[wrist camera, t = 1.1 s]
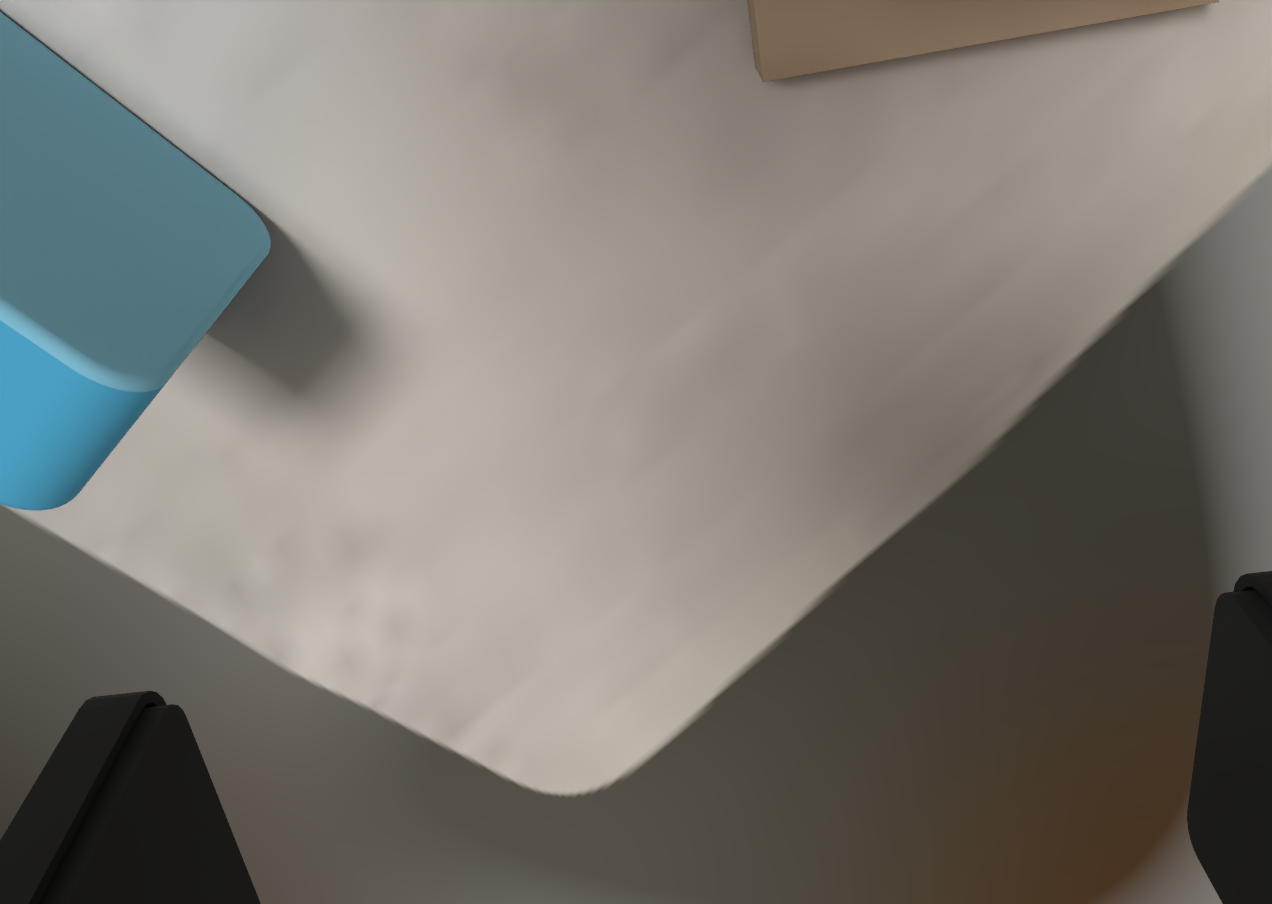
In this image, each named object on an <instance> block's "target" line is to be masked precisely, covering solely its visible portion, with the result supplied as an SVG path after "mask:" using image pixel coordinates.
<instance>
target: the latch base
mask: <svg viewBox="0 0 1272 904" xmlns="http://www.w3.org/2000/svg"><path fill="white" fill-rule="evenodd" d="M1216 2H1219V0H748V7H749V16H750V24H751V33H752V41H753V50H754V58H755V67H756V69H757V71H758V73H759V75H760V77H761V79H762V81H763V82H766V81H772V80H777V79H783V78H789V77H794V76H800V75H806V74H812V73H817V72H823V71H829V70H834V69H840V68H846V67H851V66H857V65H863V64H868V63H874V62H880V61H886V60H891V59H897V58H903V57H908V56H914V55H920V54H925V53H931V52H937V51H942V50H948V49H954V48H960V47H965V46H971V45H977V44H982V43H988V42H994V41H999V40H1005V39H1011V38H1016V37H1022V36H1028V35H1034V34H1039V33H1045V32H1051V31H1056V30H1062V29H1068V28H1073V27H1079V26H1085V25H1090V24H1096V23H1102V22H1108V21H1113V20H1119V19H1125V18H1130V17H1136V16H1142V15H1147V14H1153V13H1159V12H1165V11H1170V10H1176V9H1182V8H1187V7H1193V6H1199V5H1204V4H1210V3H1216Z"/></svg>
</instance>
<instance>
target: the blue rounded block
mask: <svg viewBox="0 0 1272 904" xmlns="http://www.w3.org/2000/svg"><path fill="white" fill-rule="evenodd" d="M270 247H271V239H270V235H269V233H268V230H267V228H266V226H265V224H264V223H263V221H262V220H261V219H260V217H259V216H258V215H257V214H256V212H255V211H254V210H253V209H252V208H251V207H250V206H249V205H248V204H247V203H246V202H245V201H243V200H242V199H241V198H240V197H239V196H237V195H236V194H235V193H234V192H232V191H231V190H230V189H228V188H227V187H226V186H224V185H223V184H222V183H221V182H219V181H218V180H217V179H215V178H214V177H213V176H212V175H210V174H209V173H208V172H206V171H205V170H204V169H203V168H201V167H200V166H199V165H197V164H196V163H195V162H193V161H192V160H191V159H190V158H188V157H187V156H186V155H184V154H183V153H182V152H181V151H179V150H178V149H177V148H175V147H174V146H173V145H172V144H170V143H169V142H168V141H166V140H165V139H164V138H162V137H161V136H160V135H159V134H157V133H156V132H155V131H153V130H152V129H151V128H150V127H148V126H147V125H146V124H144V123H143V122H142V121H140V120H139V119H138V118H137V117H135V116H134V115H133V114H131V113H130V112H129V111H128V110H126V109H125V108H124V107H122V106H121V105H120V104H119V103H117V102H116V101H115V100H113V99H112V98H111V97H109V96H108V95H107V94H106V93H104V92H103V91H102V90H100V89H99V88H98V87H97V86H95V85H94V84H93V83H91V82H90V81H89V80H88V79H86V78H85V77H84V76H82V75H81V74H80V73H78V72H77V71H76V70H75V69H73V68H72V67H71V66H69V65H68V64H67V63H66V62H64V61H63V60H62V59H60V58H59V57H58V56H57V55H55V54H54V53H53V52H51V51H50V50H49V49H47V48H46V47H45V46H44V45H42V44H41V43H40V42H38V41H37V40H36V39H35V38H33V37H32V36H31V35H29V34H28V33H27V32H26V31H24V30H23V29H22V28H20V27H19V26H18V25H16V24H15V23H14V22H13V21H11V20H10V19H9V18H7V17H6V16H5V15H4V14H2V13H1V12H0V504H3V505H6V506H9V507H13V508H18V509H24V510H47V509H52V508H56V507H59V506H62V505H64V504H66V503H68V502H69V501H71V500H72V499H74V497H75V496H76V495H77V494H78V493H79V492H80V491H81V490H82V488H83V487H84V486H85V485H86V483H87V482H88V481H89V480H90V478H91V477H92V476H93V475H94V473H95V472H96V471H97V469H98V468H99V467H100V466H101V464H102V463H103V462H104V461H105V459H106V458H107V457H108V456H109V454H110V453H111V452H112V451H113V449H114V448H115V447H116V446H117V444H118V443H119V442H120V441H121V439H122V438H123V437H124V435H125V434H126V433H127V432H128V430H129V429H130V428H131V427H132V425H133V424H134V423H135V422H136V420H137V419H138V418H139V417H140V415H141V414H142V413H143V412H144V410H145V409H146V408H147V406H148V405H149V404H150V403H151V401H152V400H153V399H154V398H155V396H156V395H157V394H158V393H159V391H160V390H161V389H162V388H163V386H164V385H165V384H166V383H167V381H168V380H169V379H170V378H171V376H172V375H173V374H174V372H175V371H176V370H177V369H178V367H179V366H180V365H181V364H182V362H183V361H184V360H185V359H186V357H187V356H188V355H189V354H190V352H191V351H192V350H193V348H194V347H195V346H196V345H197V343H198V342H199V341H200V340H201V338H202V337H203V336H204V335H205V333H206V332H207V331H208V330H209V328H210V327H211V326H212V324H213V323H214V322H215V321H216V319H217V318H218V317H219V316H220V314H221V313H222V312H223V311H224V309H225V308H226V307H227V306H228V304H229V303H230V302H231V300H232V299H233V298H234V297H235V295H236V294H237V293H238V292H239V290H240V289H241V288H242V287H243V285H244V284H245V283H246V282H247V280H248V279H249V278H250V277H251V275H252V274H253V273H254V271H255V270H256V269H257V268H258V266H259V265H260V264H261V263H262V261H263V260H264V259H265V258H266V256H267V255H268V253H269V251H270Z"/></svg>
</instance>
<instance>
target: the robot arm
mask: <svg viewBox="0 0 1272 904" xmlns="http://www.w3.org/2000/svg"><path fill="white" fill-rule="evenodd" d="M1187 821H1188V830H1189V834H1190V839H1191V842H1192V845H1193V848H1194V851H1195V853H1196V855H1197V857H1198V859H1199V861H1200V863H1201V865H1202V866H1203V868H1204V870H1205V872H1206V874H1207V876H1208V878H1209V879H1210V881H1211V883H1212V885H1213V887H1214V888H1215V890H1216V892H1217V894H1218V896H1219V898H1220V899H1221V901H1222V903H1223V904H1272V571H1269V572H1260V573H1250V574H1245V575H1243V576H1241V577H1240V578H1239V579H1238V581H1237V582H1236V584H1235V587H1234V591H1233V592H1229V593H1223V594H1221V595H1220V596H1219V597H1218V599H1217V602H1216V606H1215V611H1214V618H1213V626H1212V634H1211V641H1210V648H1209V656H1208V663H1207V670H1206V678H1205V685H1204V693H1203V700H1202V708H1201V715H1200V722H1199V729H1198V737H1197V744H1196V752H1195V759H1194V767H1193V774H1192V781H1191V789H1190V796H1189V803H1188V811H1187ZM0 904H260V901H259V898H258V896H257V894H256V891H255V888H254V886H253V884H252V881H251V878H250V876H249V873H248V871H247V868H246V866H245V863H244V861H243V858H242V856H241V853H240V851H239V848H238V846H237V843H236V841H235V838H234V836H233V833H232V831H231V828H230V825H229V823H228V820H227V818H226V815H225V813H224V810H223V808H222V805H221V803H220V800H219V798H218V795H217V793H216V790H215V788H214V786H213V783H212V780H211V778H210V775H209V773H208V770H207V768H206V765H205V763H204V760H203V758H202V755H201V753H200V750H199V747H198V745H197V743H196V740H195V737H194V735H193V732H192V730H191V727H190V725H189V722H188V720H187V718H186V715H185V713H184V712H183V710H182V709H181V708H180V707H179V706H178V705H166V703H165V701H164V699H163V698H162V697H161V696H160V695H159V694H158V693H157V692H153V691H145V692H135V693H126V694H117V695H107V696H98V697H92V698H90V699H88V700H86V701H85V702H84V704H83V705H82V706H81V707H80V709H79V710H78V712H77V713H76V715H75V717H74V719H73V720H72V722H71V724H70V725H69V727H68V728H67V730H66V732H65V734H64V735H63V737H62V739H61V740H60V742H59V744H58V745H57V747H56V748H55V750H54V752H53V753H52V755H51V757H50V759H49V760H48V762H47V764H46V765H45V767H44V769H43V770H42V772H41V774H40V775H39V777H38V779H37V780H36V782H35V784H34V785H33V787H32V789H31V790H30V792H29V794H28V795H27V797H26V799H25V800H24V802H23V804H22V805H21V807H20V809H19V810H18V812H17V814H16V815H15V817H14V819H13V820H12V822H11V824H10V825H9V827H8V829H7V830H6V832H5V834H4V835H3V837H2V839H1V841H0Z"/></svg>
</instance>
